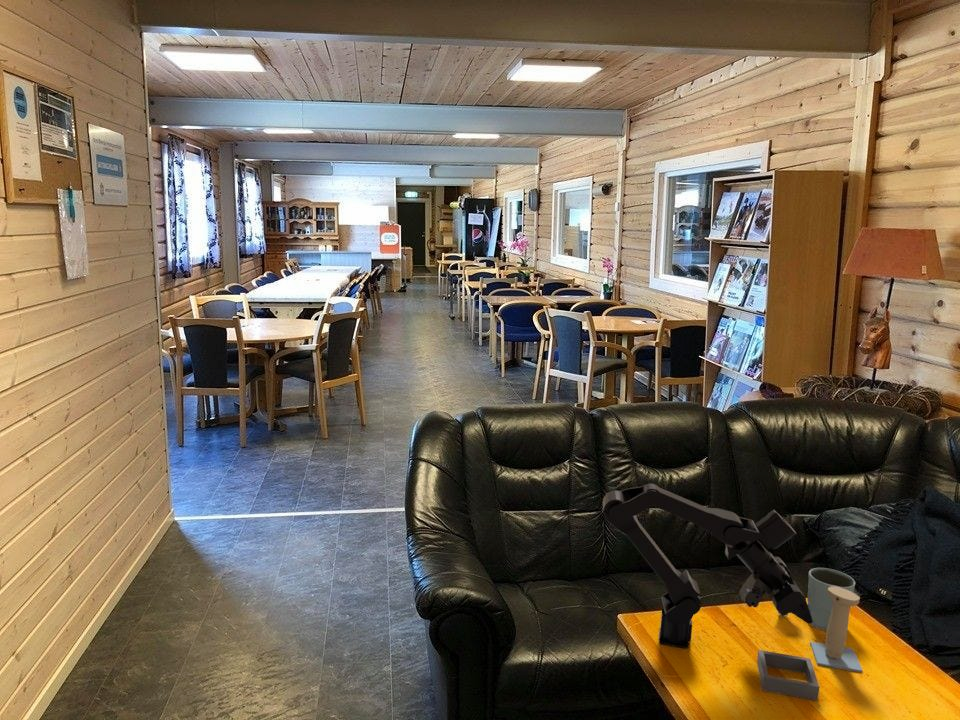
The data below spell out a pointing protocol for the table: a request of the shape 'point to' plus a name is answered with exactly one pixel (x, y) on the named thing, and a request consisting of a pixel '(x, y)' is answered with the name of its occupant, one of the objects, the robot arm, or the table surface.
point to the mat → (845, 662)
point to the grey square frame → (782, 684)
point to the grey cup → (824, 593)
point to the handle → (839, 620)
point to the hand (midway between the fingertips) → (804, 612)
